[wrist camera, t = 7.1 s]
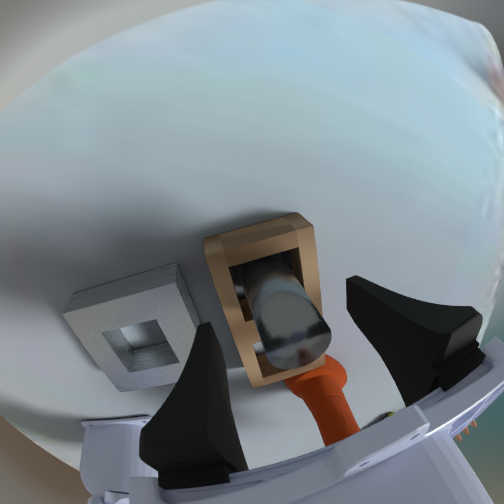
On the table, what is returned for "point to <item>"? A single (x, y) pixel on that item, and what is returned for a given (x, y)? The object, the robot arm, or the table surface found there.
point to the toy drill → (326, 399)
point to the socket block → (133, 312)
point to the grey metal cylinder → (283, 313)
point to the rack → (238, 311)
